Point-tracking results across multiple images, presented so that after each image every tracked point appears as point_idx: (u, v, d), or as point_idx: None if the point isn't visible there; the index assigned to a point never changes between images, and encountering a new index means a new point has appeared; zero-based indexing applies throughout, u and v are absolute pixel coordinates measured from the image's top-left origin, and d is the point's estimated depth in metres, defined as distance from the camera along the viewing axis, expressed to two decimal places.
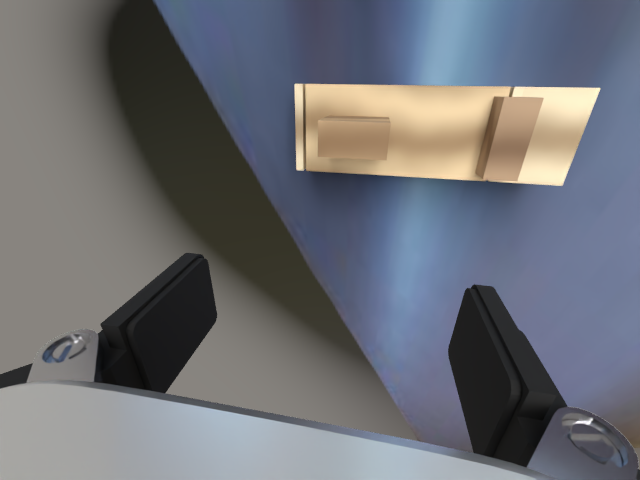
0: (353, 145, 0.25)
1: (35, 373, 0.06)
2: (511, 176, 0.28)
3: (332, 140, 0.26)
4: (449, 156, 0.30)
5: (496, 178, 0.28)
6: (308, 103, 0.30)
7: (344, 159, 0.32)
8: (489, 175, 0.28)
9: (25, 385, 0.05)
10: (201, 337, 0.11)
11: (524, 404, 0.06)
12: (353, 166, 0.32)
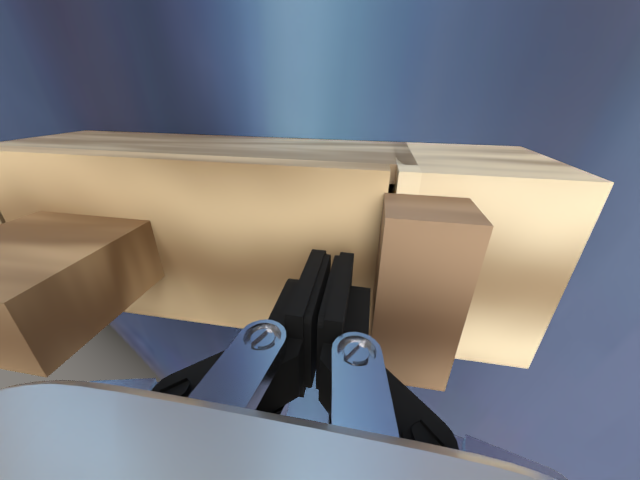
0: None
1: (232, 346, 0.07)
2: (430, 381, 0.11)
3: None
4: None
5: None
6: None
7: None
8: None
9: (25, 385, 0.05)
10: None
11: (326, 332, 0.08)
12: None
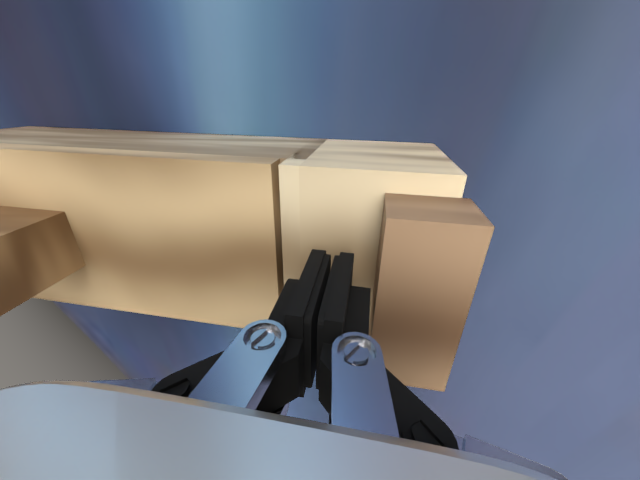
0: None
1: (232, 347, 0.07)
2: (429, 381, 0.11)
3: None
4: (201, 287, 0.15)
5: None
6: None
7: None
8: None
9: (25, 385, 0.05)
10: None
11: (326, 332, 0.08)
12: (49, 290, 0.17)
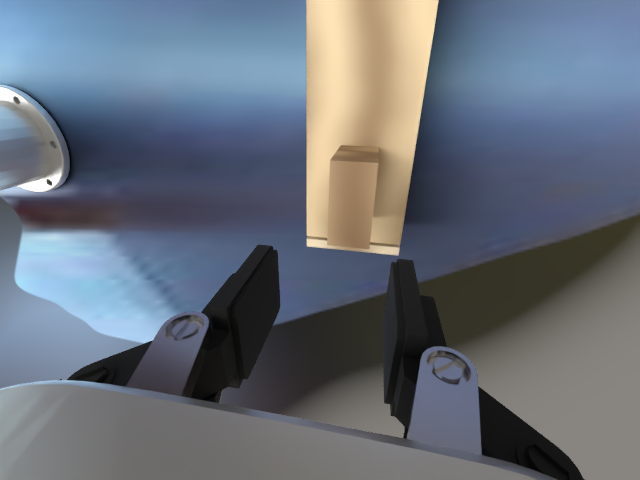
0: (356, 206, 0.20)
1: (155, 343, 0.07)
2: None
3: (349, 231, 0.21)
4: (396, 51, 0.21)
5: None
6: (325, 235, 0.28)
7: (389, 198, 0.25)
8: None
9: (25, 385, 0.05)
10: (271, 324, 0.12)
11: (406, 346, 0.08)
12: (399, 187, 0.25)
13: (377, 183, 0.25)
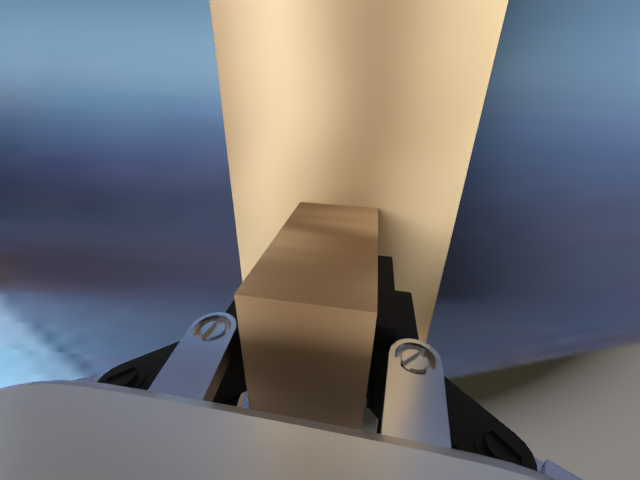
0: (317, 398, 0.07)
1: (184, 342, 0.07)
2: None
3: None
4: None
5: None
6: None
7: None
8: None
9: (25, 385, 0.05)
10: None
11: (378, 338, 0.08)
12: (420, 283, 0.12)
13: None
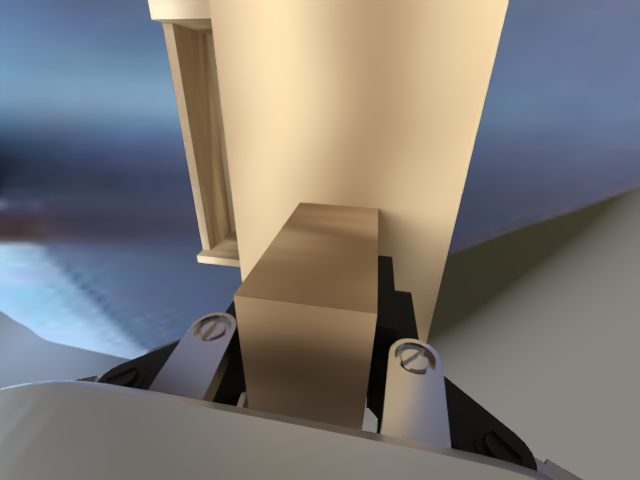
0: (317, 399, 0.07)
1: (183, 342, 0.07)
2: None
3: None
4: None
5: None
6: None
7: None
8: None
9: (25, 385, 0.05)
10: None
11: (378, 338, 0.08)
12: (420, 284, 0.12)
13: None
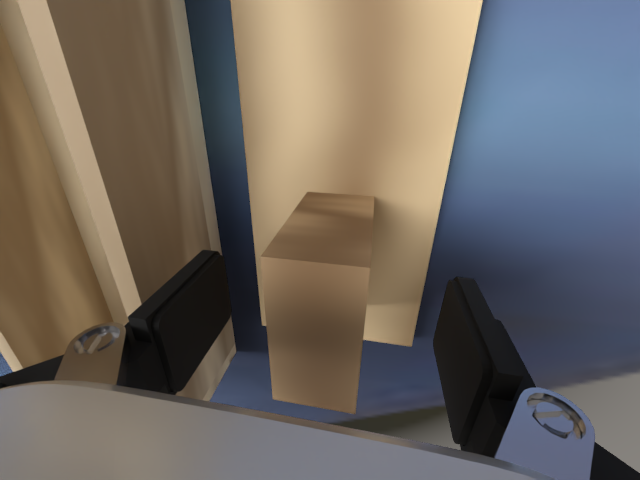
0: (324, 343, 0.09)
1: (66, 362, 0.07)
2: None
3: (313, 382, 0.10)
4: (407, 14, 0.10)
5: None
6: None
7: (394, 279, 0.15)
8: None
9: (25, 385, 0.05)
10: (217, 332, 0.11)
11: (495, 386, 0.07)
12: (411, 263, 0.14)
13: (373, 255, 0.14)
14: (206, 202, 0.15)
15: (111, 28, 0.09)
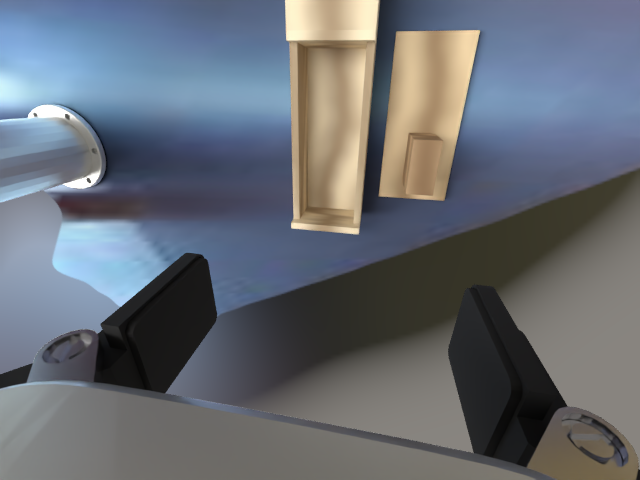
0: (427, 167, 0.33)
1: (35, 373, 0.06)
2: None
3: (421, 184, 0.33)
4: (449, 73, 0.33)
5: None
6: (391, 195, 0.41)
7: (438, 168, 0.38)
8: None
9: (25, 385, 0.05)
10: (201, 337, 0.11)
11: (524, 404, 0.06)
12: (446, 160, 0.38)
13: None
14: None
15: None
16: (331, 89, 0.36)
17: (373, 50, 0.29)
